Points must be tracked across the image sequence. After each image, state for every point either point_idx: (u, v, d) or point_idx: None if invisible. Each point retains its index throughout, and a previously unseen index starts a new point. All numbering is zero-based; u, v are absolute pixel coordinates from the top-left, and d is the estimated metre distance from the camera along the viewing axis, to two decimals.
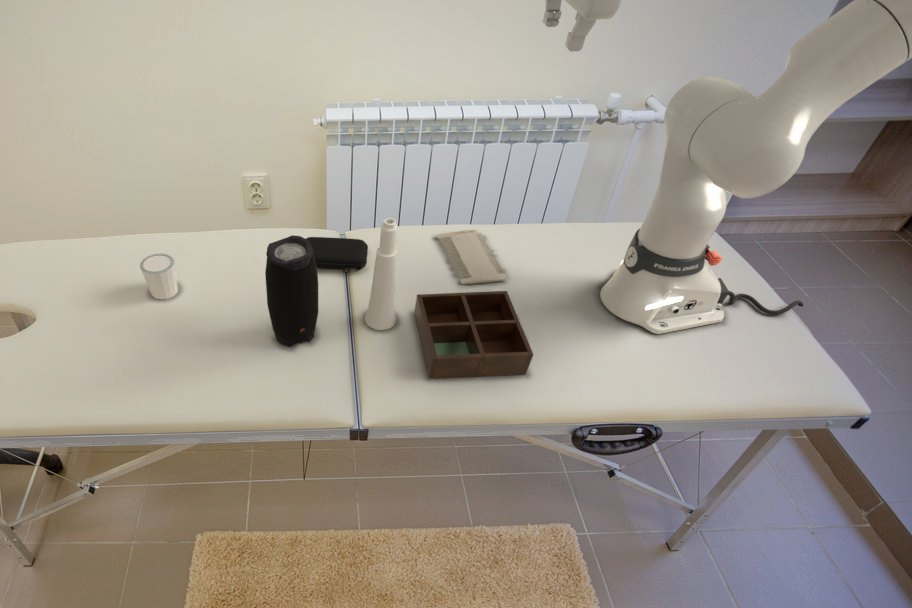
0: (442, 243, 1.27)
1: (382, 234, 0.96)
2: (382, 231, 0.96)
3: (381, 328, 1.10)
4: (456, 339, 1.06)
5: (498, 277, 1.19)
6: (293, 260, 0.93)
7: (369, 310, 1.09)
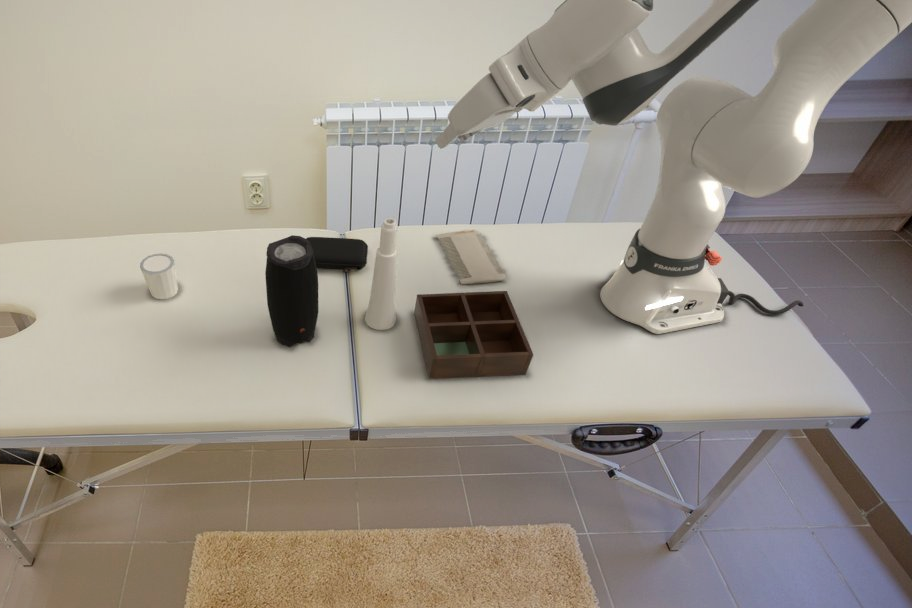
0: (442, 243, 1.27)
1: (382, 234, 0.96)
2: (382, 231, 0.96)
3: (381, 328, 1.10)
4: (456, 339, 1.06)
5: (498, 277, 1.19)
6: (293, 260, 0.93)
7: (369, 310, 1.09)
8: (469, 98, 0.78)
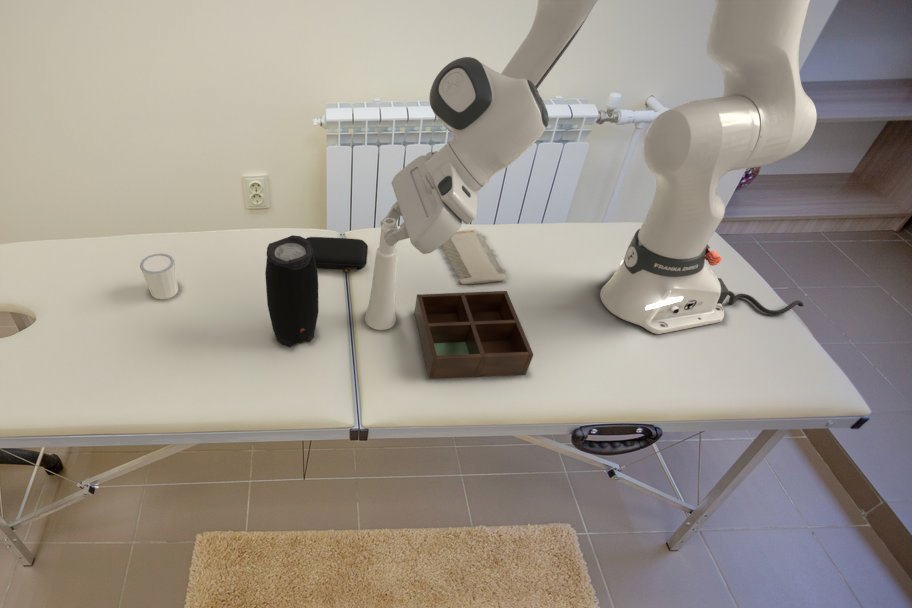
0: None
1: (382, 234, 0.96)
2: (382, 231, 0.96)
3: (381, 328, 1.10)
4: (456, 339, 1.06)
5: (498, 277, 1.19)
6: (293, 260, 0.93)
7: (369, 310, 1.09)
8: (433, 229, 0.86)
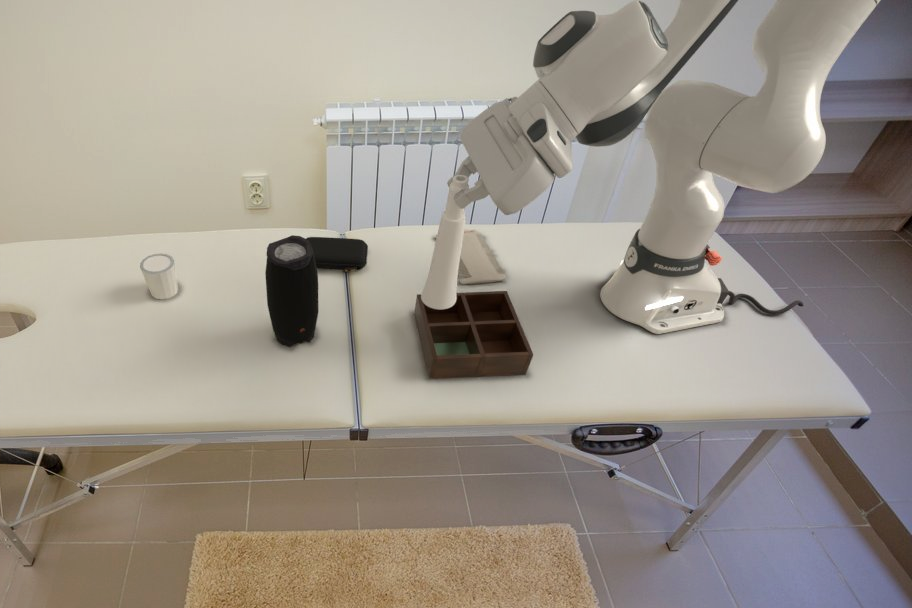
0: None
1: (451, 194, 0.82)
2: (451, 190, 0.82)
3: (441, 307, 0.96)
4: (456, 339, 1.06)
5: (498, 277, 1.19)
6: (293, 260, 0.93)
7: (427, 287, 0.95)
8: (522, 183, 0.72)
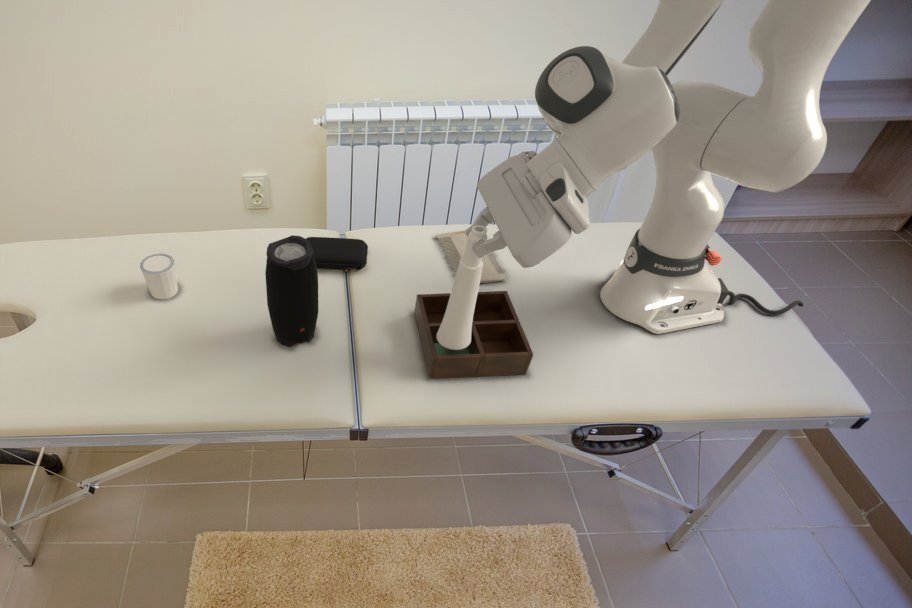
0: (442, 243, 1.27)
1: (469, 244, 0.85)
2: (470, 240, 0.84)
3: (457, 347, 0.98)
4: None
5: (498, 277, 1.19)
6: (293, 260, 0.93)
7: (443, 328, 0.97)
8: (541, 239, 0.74)
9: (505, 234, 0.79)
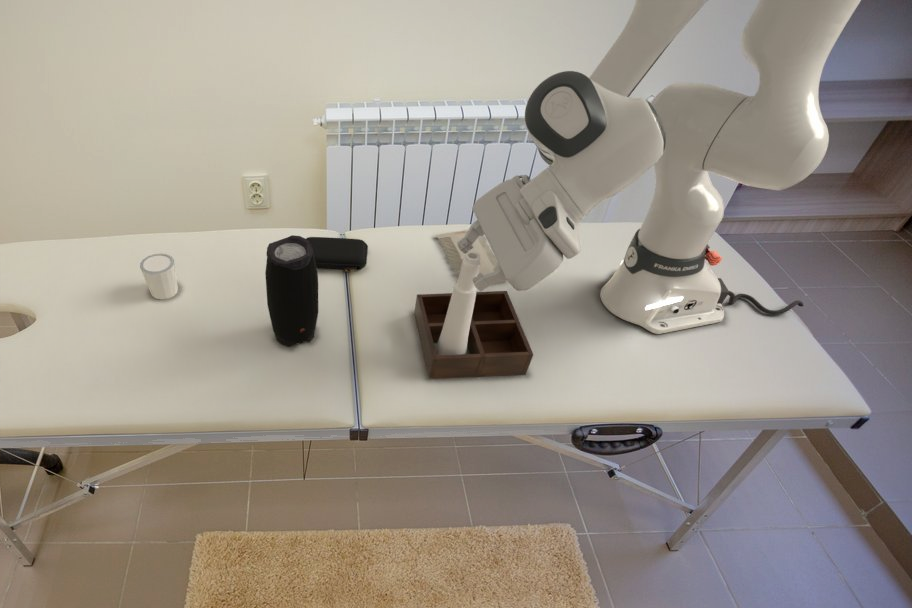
0: (442, 243, 1.27)
1: (463, 269, 0.88)
2: (464, 266, 0.88)
3: None
4: None
5: None
6: (293, 260, 0.93)
7: (439, 347, 1.01)
8: (533, 265, 0.77)
9: (499, 258, 0.82)
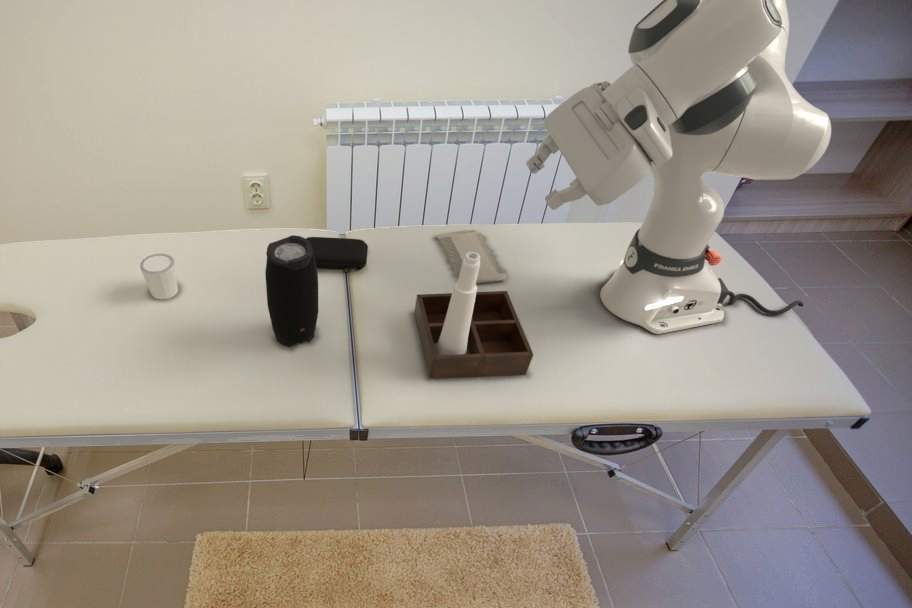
0: (442, 243, 1.27)
1: (463, 269, 0.88)
2: (464, 266, 0.88)
3: None
4: None
5: (498, 277, 1.19)
6: (293, 260, 0.93)
7: (439, 347, 1.01)
8: (618, 173, 0.69)
9: (577, 170, 0.74)
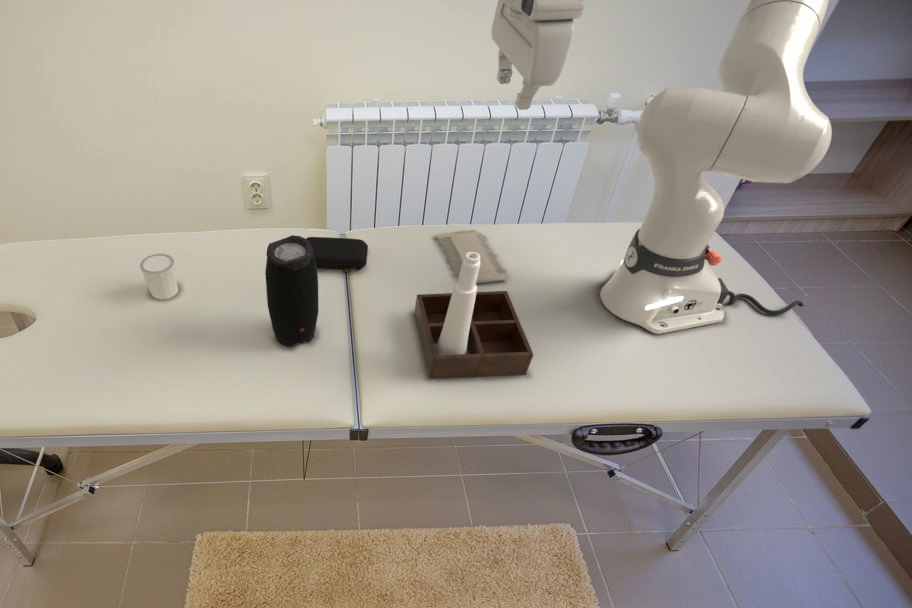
0: (442, 243, 1.27)
1: (463, 269, 0.88)
2: (464, 266, 0.88)
3: None
4: None
5: (498, 277, 1.19)
6: (293, 260, 0.93)
7: (439, 347, 1.01)
8: (542, 55, 0.73)
9: (520, 70, 0.79)
